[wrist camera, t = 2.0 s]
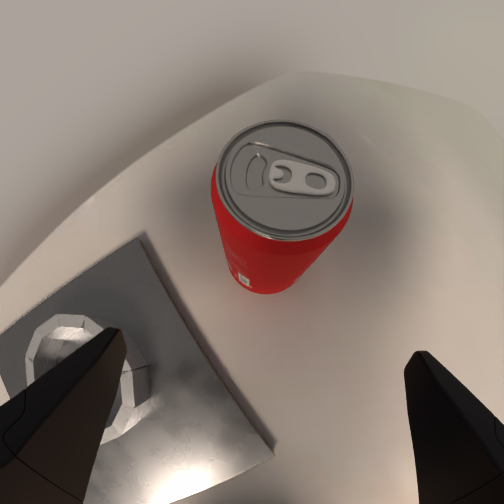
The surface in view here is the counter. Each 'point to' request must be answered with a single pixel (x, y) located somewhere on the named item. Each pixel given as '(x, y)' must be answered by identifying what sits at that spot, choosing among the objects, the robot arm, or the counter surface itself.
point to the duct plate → (178, 389)
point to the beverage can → (279, 201)
